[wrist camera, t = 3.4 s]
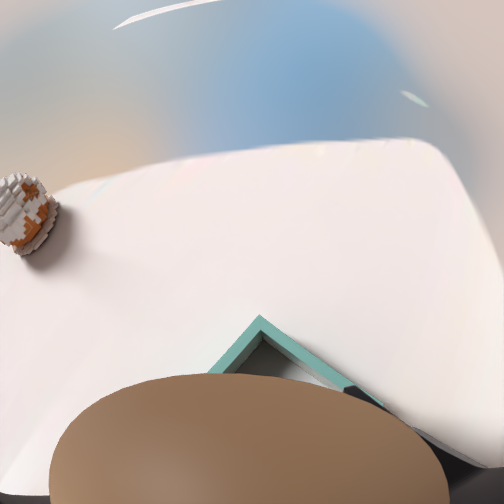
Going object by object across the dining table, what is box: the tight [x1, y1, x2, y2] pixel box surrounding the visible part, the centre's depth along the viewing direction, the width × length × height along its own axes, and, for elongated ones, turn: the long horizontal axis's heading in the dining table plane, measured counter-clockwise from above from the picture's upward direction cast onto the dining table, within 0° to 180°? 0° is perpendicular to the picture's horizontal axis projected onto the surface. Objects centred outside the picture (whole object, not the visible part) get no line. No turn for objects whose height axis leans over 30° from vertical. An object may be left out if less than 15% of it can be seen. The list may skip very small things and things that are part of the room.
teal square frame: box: [208, 315, 384, 406], centre depth 13 cm, size 9×9×3 cm
